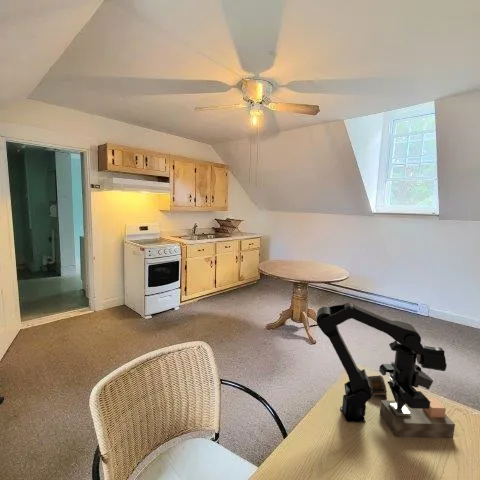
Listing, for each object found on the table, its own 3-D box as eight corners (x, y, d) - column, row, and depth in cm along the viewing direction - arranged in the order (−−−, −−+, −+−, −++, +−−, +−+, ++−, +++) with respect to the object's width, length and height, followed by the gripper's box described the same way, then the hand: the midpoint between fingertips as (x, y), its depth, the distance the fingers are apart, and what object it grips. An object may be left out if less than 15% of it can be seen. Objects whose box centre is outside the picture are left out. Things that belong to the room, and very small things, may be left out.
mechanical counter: (388, 393, 100) (392, 374, 107) (350, 377, 107) (357, 360, 114) (384, 408, 102) (388, 388, 110) (348, 391, 109) (355, 374, 117)
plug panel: (395, 437, 87) (397, 422, 87) (379, 413, 97) (381, 400, 97) (453, 438, 88) (455, 424, 87) (431, 414, 97) (433, 401, 97)
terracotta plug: (430, 421, 90) (431, 407, 89) (421, 411, 94) (422, 398, 94) (443, 421, 90) (445, 408, 89) (434, 411, 94) (436, 398, 94)
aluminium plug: (395, 426, 90) (396, 412, 89) (388, 416, 94) (389, 403, 94) (409, 426, 90) (410, 413, 89) (401, 416, 94) (402, 403, 94)
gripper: (451, 383, 80) (444, 431, 82) (412, 349, 99) (407, 389, 101) (413, 382, 80) (407, 431, 82) (380, 348, 99) (376, 388, 101)
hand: (399, 408), depth 92 cm, fingers closed, pressing on aluminium plug
